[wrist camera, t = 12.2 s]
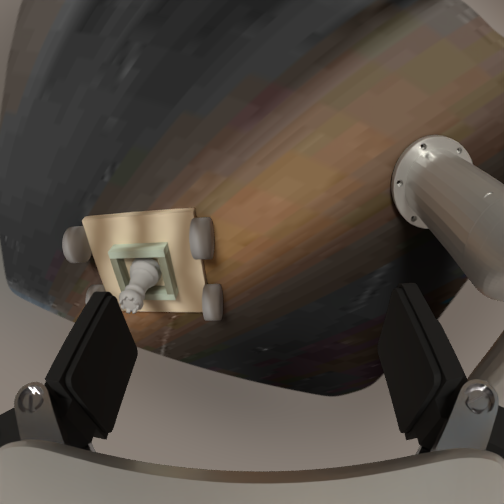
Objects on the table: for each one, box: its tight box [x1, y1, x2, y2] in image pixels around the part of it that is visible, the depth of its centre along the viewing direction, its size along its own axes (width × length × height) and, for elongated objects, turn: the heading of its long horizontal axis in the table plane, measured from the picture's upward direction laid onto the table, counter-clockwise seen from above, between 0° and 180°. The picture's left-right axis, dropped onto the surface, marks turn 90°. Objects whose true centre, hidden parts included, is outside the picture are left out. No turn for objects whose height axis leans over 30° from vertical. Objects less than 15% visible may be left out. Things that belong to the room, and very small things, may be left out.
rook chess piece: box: [119, 257, 162, 314], centre depth 39 cm, size 4×4×8 cm
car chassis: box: [62, 208, 223, 320], centre depth 42 cm, size 20×16×5 cm
